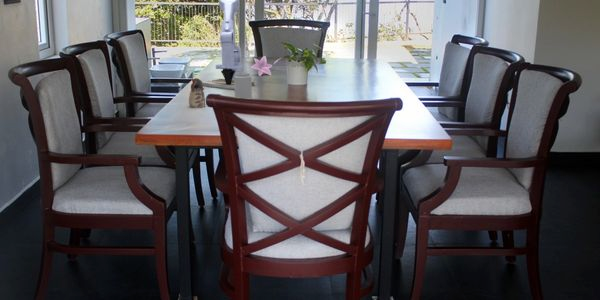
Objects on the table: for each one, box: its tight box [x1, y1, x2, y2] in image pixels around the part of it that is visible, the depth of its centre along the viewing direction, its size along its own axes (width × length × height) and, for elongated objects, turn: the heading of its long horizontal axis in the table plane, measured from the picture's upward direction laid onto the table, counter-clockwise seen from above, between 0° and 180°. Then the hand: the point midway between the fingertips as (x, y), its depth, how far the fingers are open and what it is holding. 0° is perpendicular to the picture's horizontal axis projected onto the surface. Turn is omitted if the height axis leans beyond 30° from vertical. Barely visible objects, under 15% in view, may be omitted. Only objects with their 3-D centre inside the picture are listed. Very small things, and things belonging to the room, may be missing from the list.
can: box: [234, 71, 253, 99], centre depth 309 cm, size 8×8×12 cm
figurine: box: [188, 77, 207, 108], centre depth 296 cm, size 7×7×12 cm
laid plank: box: [211, 78, 255, 87], centre depth 351 cm, size 6×22×2 cm, turn 55°
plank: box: [202, 80, 235, 90], centre depth 345 cm, size 7×22×2 cm, turn 55°
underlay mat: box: [203, 84, 256, 91], centre depth 348 cm, size 15×23×1 cm, turn 55°
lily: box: [250, 55, 273, 77], centre depth 384 cm, size 12×12×10 cm
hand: (228, 84), depth 341 cm, fingers closed, pressing on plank
